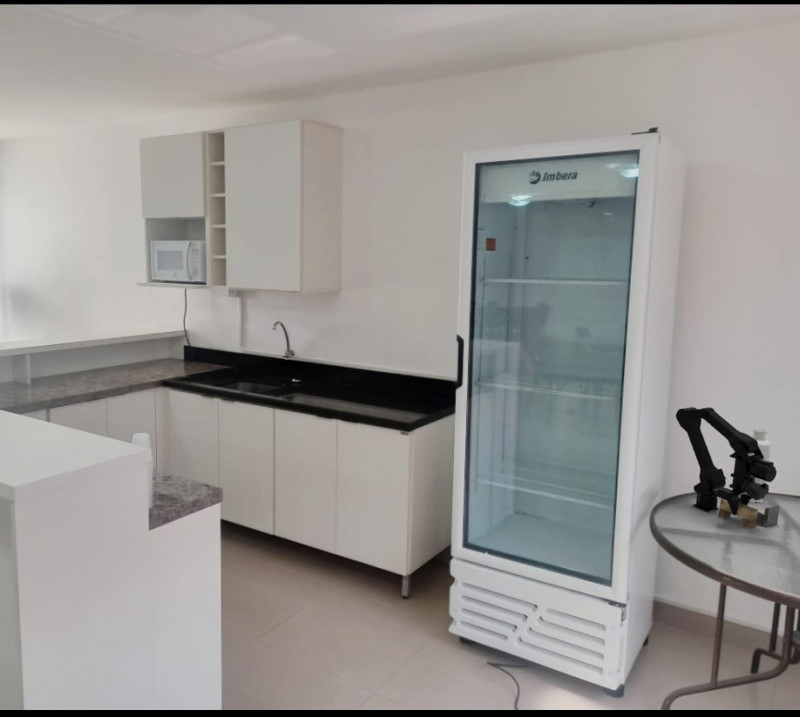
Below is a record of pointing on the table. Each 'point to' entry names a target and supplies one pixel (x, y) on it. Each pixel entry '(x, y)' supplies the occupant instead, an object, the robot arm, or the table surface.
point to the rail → (741, 510)
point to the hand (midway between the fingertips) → (737, 513)
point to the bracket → (768, 516)
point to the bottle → (765, 449)
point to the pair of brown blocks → (747, 523)
